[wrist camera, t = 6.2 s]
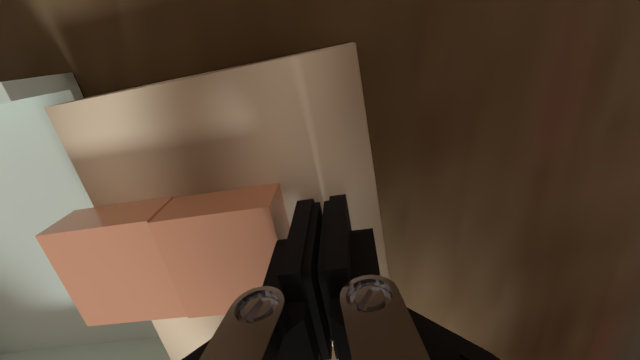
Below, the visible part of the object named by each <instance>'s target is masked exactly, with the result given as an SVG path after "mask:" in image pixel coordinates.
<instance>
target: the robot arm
mask: <svg viewBox="0 0 640 360" xmlns="http://www.w3.org/2000/svg"><path fill="white" fill-rule="evenodd" d="M332 342H333V346H334V351H335V355H336V358H337V359H339V360H500V359H499V358H497V357H496V356H494V355H493V354H491V353H490V352H488V351H486V350H484V349H483V348H481V347H479V346H477V345H475V344H473V343H472V342H470V341H468V340H466V339H464V338H462V337H461V336H459V335H457V334H455V333H453V332H451V331H449V330H448V329H446V328H444V327H442V326H440V325H438V324H437V323H435V322H433V321H431V320H429V319H427V318H425V317H424V316H422V315H420V314H418V313H416V312H414V311H413V310H411V309H409V308H407V307H406V305H405V303H404V300H403V298H402V296H401V294H400V292H399V289H398V288H397V286H396V285H395V283H394V282H392V281H391V280H389V279H388V278H385V277H382V276H380V270H379V263H378V257H377V251H376V245H375V239H374V233H373V228H369V229H361V230H353V231H352V229H351V223H350V217H349V211H348V205H347V199H346V194H342V195H335V196H330V197H329V201H324V206H323V214H322V209H321V204H320V202H314V199H306V200H299V201H297V203H296V207H295V211H294V214H293V218H292V222H291V226H290V229H289V233H288V237H287V239H280V240H277V242H276V244H275V247H274V250H273V254H272V257H271V260H270V263H269V266H268V270H267V273H266V276H265V279H264V282H263V286H261V287H256V288H253V289H250V290H248V291H246V292H245V293H243V294H241V295H240V296H239V297H238V298H236V300H235V301H234V302H233V303H232V305H231V306H230V308H229V310H228V311H227V313H226V315H225V316H224V318H223V320H222V321H221V323H220V325H219V326H218V328H217V330H216V332H215V333H214V335H213V337H212V338H211V339H210V340H209V341H207V342H206V343H204V344H203V345H202V346H200V347H199V348H197V349H196V350H194V351H193V352H192V353H190V354H189V355H187V356H186V357H184V358H183V359H182V360H329V359H331V357H332Z"/></svg>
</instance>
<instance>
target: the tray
mask: <svg viewBox="0 0 640 360" xmlns="http://www.w3.org/2000/svg"><path fill="white" fill-rule="evenodd" d="M82 98H84V97H83V95H82V93H81V90H80V88H79V86H78V84H77V82H76V79H75V77H74V75H73V73H72V72H70V73H63V74H55V75H48V76H40V77H33V78H26V79H18V80H11V81H3V82H0V360H171V359H170V357H169V355H168V353H167V351H166V349H165V347H164V345H163V343H162V341H161V339H160V337H159V335H158V333H157V331H156V329H155V327H154V325H153V323H152V321H151V320H149V321H139V322H128V323H118V324H107V325H97V326H87V325H86V323H85V321H84V319H83V318H82V316H81V314H80V313H79V311H78V309H77V307H76V306H75V304H74V302H73V301H72V299H71V297H70V295H69V294H68V292H67V290H66V289H65V287H64V285H63V283H62V282H61V280H60V278H59V277H58V275H57V273H56V271H55V270H54V268H53V266H52V265H51V263H50V261H49V259H48V258H47V256H46V254H45V253H44V251H43V249H42V247H41V246H40V244H39V242H38V241H37V239H36V237H35V236H36V235H37V234H39V233H40V232H42V231H43V230H45V229H46V228H48V227H50V226H51V225H53V224H54V223H56V222H57V221H59V220H60V219H62V218H63V217H65V216H66V215H68V214H69V213H71V212H73V211H74V210H79V209H86V208H93V207H94V206H93V204H92V202H91V200H90V198H89V196H88V194H87V192H86V190H85V188H84V186H83V184H82V182H81V180H80V178H79V176H78V174H77V172H76V170H75V168H74V166H73V164H72V162H71V160H70V158H69V156H68V154H67V152H66V150H65V148H64V146H63V144H62V142H61V140H60V138H59V136H58V134H57V132H56V130H55V128H54V127H53V125H52V123H51V121H50V119H49V117H48V115H47V113H46V111H45V109H44V108H45V107H49V106H53V105H57V104H61V103H66V102H70V101H74V100H78V99H82Z"/></svg>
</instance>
